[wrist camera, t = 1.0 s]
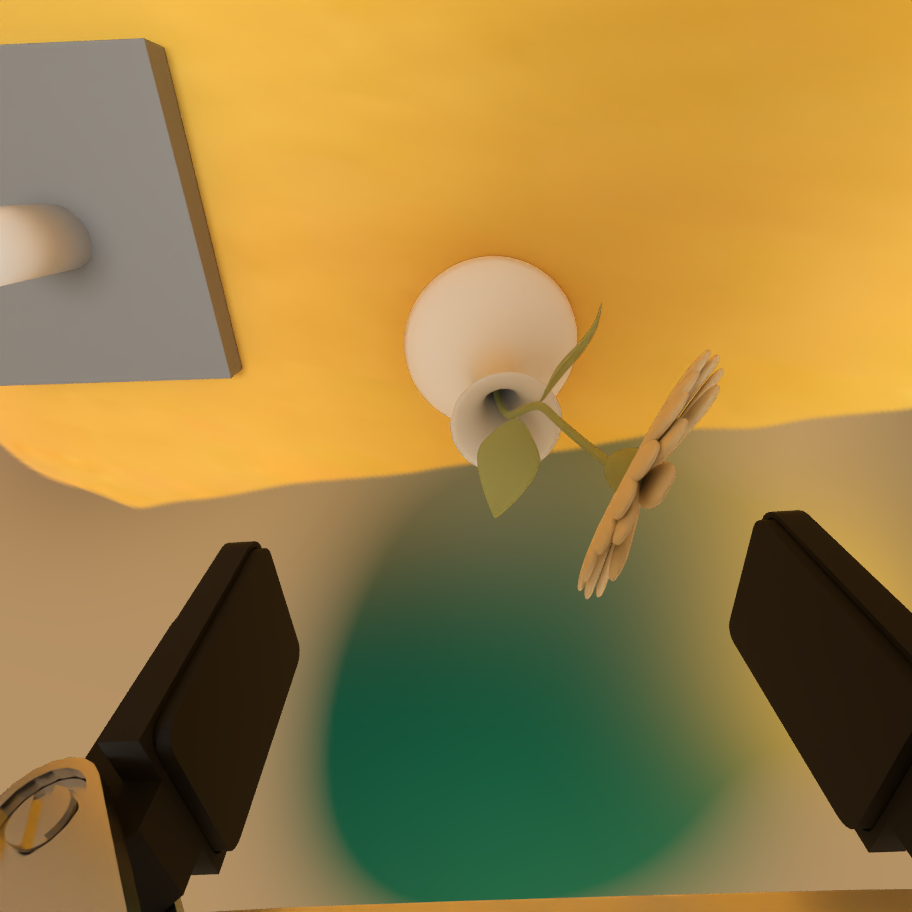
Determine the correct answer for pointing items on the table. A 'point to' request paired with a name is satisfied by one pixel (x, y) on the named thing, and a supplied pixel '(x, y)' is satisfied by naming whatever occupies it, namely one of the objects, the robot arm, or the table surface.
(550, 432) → the flower in vase
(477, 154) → the table surface
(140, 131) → the piston stand
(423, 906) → the robot arm
